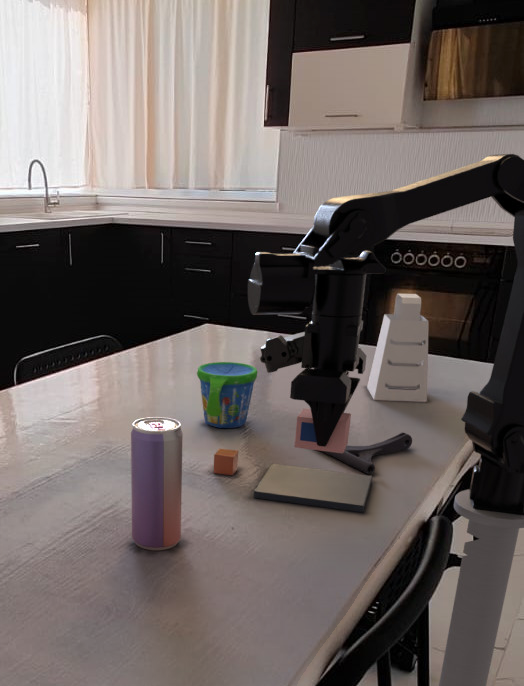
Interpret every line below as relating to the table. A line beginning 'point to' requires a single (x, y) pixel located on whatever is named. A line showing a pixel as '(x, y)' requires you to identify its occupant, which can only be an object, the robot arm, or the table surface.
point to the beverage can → (156, 482)
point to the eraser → (308, 439)
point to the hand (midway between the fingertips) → (324, 440)
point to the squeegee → (372, 452)
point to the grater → (401, 353)
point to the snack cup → (226, 392)
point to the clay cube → (225, 461)
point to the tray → (314, 487)
